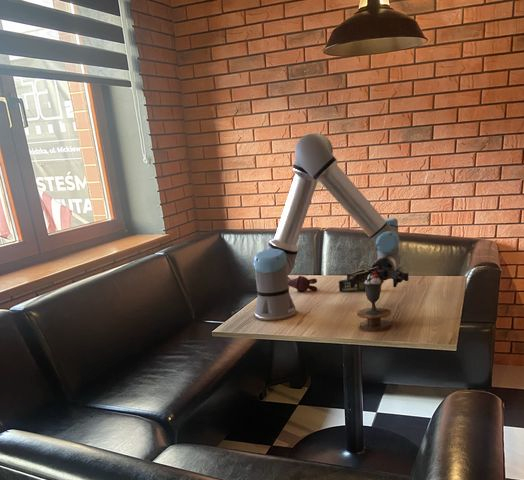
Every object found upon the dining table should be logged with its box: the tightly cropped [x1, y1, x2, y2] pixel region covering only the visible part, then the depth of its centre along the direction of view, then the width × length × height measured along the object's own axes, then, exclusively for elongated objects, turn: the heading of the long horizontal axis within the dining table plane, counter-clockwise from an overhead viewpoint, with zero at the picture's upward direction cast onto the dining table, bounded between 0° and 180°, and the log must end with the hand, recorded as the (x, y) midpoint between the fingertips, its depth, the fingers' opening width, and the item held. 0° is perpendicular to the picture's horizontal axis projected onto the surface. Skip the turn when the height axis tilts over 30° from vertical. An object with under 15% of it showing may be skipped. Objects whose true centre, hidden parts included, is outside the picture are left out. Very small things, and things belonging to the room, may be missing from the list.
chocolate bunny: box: [288, 275, 318, 293], centre depth 227 cm, size 7×7×15 cm
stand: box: [356, 307, 392, 333], centre depth 174 cm, size 11×11×5 cm
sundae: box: [362, 267, 385, 315], centre depth 171 cm, size 7×7×15 cm
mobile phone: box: [338, 278, 366, 293], centre depth 219 cm, size 5×3×15 cm
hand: (372, 283), depth 170 cm, fingers open, 13 cm apart
